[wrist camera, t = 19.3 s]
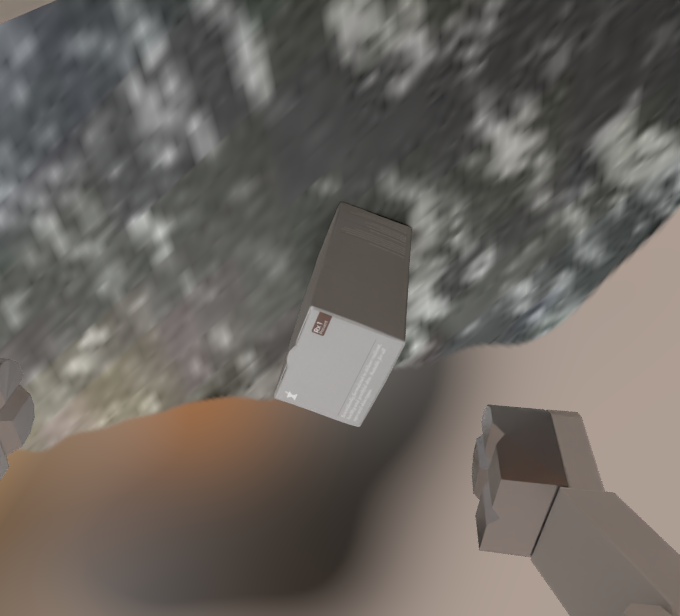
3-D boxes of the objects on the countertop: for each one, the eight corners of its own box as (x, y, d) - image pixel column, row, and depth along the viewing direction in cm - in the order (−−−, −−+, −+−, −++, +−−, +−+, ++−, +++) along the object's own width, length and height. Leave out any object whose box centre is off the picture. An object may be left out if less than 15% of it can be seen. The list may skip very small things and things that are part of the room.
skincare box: (378, 301, 55) (368, 437, 42) (301, 274, 54) (267, 405, 41) (416, 222, 50) (419, 349, 37) (333, 191, 49) (306, 311, 36)
